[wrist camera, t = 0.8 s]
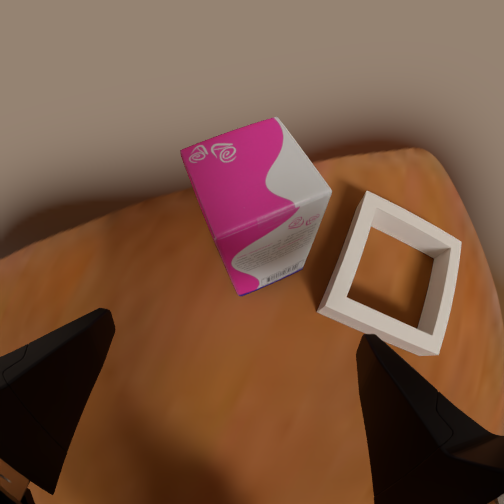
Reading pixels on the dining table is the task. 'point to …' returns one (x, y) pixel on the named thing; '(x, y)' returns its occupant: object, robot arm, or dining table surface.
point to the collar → (439, 289)
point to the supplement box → (258, 201)
